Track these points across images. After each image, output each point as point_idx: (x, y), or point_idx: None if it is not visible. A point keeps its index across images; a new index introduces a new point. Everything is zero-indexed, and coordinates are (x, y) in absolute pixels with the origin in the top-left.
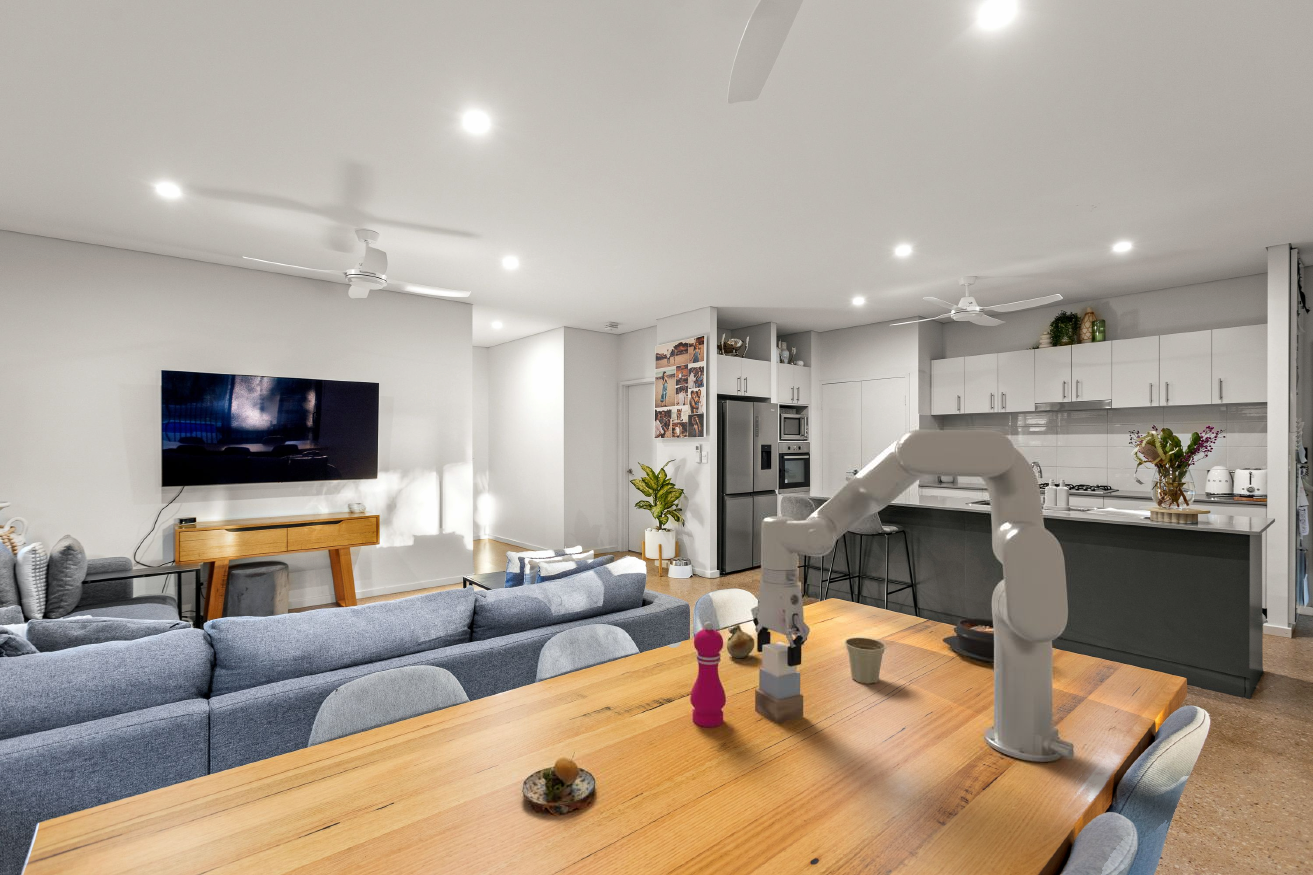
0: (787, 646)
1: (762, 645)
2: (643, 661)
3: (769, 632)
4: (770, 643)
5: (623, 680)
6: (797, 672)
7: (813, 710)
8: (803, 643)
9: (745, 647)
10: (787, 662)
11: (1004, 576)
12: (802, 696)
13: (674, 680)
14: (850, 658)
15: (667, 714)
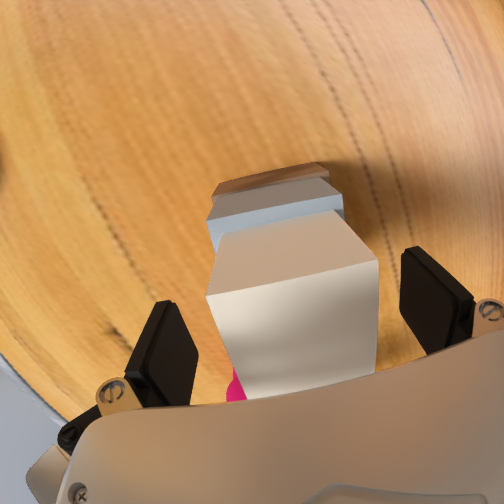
0: (318, 298)
1: (247, 397)
2: (15, 352)
3: (143, 374)
4: (164, 321)
5: (88, 402)
6: (333, 204)
7: (285, 112)
8: (501, 306)
9: None
10: (405, 318)
11: None
12: (328, 173)
13: (75, 349)
14: None
15: (222, 402)
